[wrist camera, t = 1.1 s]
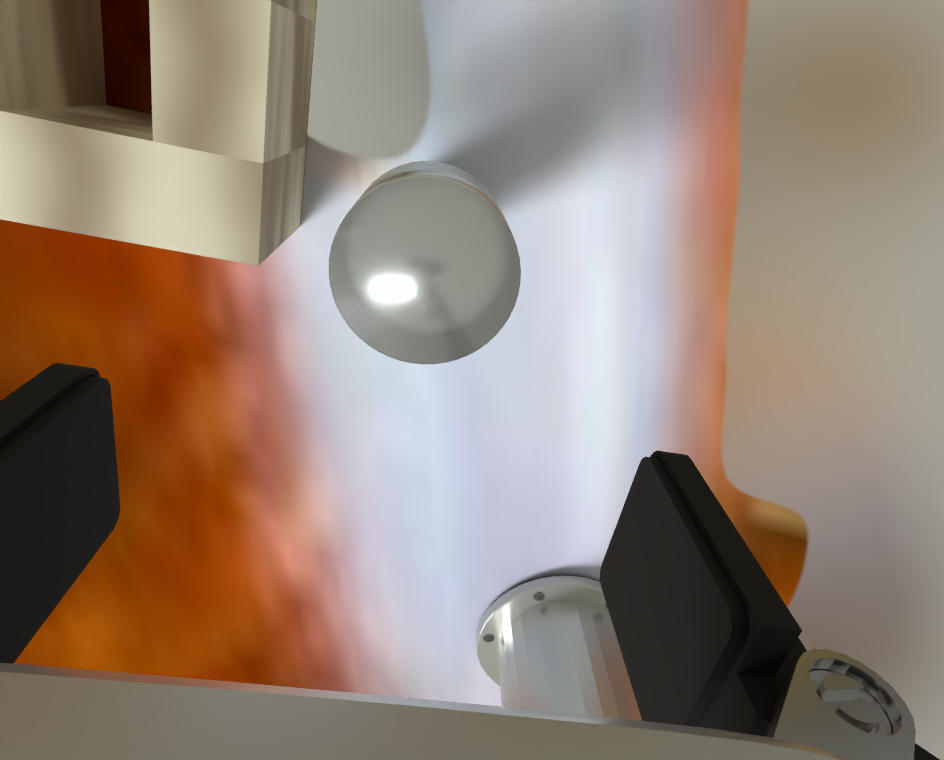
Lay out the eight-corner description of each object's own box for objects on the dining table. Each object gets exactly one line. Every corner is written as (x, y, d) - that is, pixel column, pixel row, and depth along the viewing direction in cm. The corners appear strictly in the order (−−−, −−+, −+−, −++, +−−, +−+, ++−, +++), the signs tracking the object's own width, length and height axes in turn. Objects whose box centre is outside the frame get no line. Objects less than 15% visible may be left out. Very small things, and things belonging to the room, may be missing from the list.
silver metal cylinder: (509, 161, 32) (541, 199, 21) (482, 287, 35) (497, 377, 24) (377, 133, 31) (339, 158, 20) (360, 264, 34) (320, 347, 23)
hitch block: (323, -85, 27) (278, -147, 20) (300, 226, 33) (258, 265, 26) (-13, -169, 25) (-197, -271, 18) (25, 174, 31) (-101, 200, 24)
